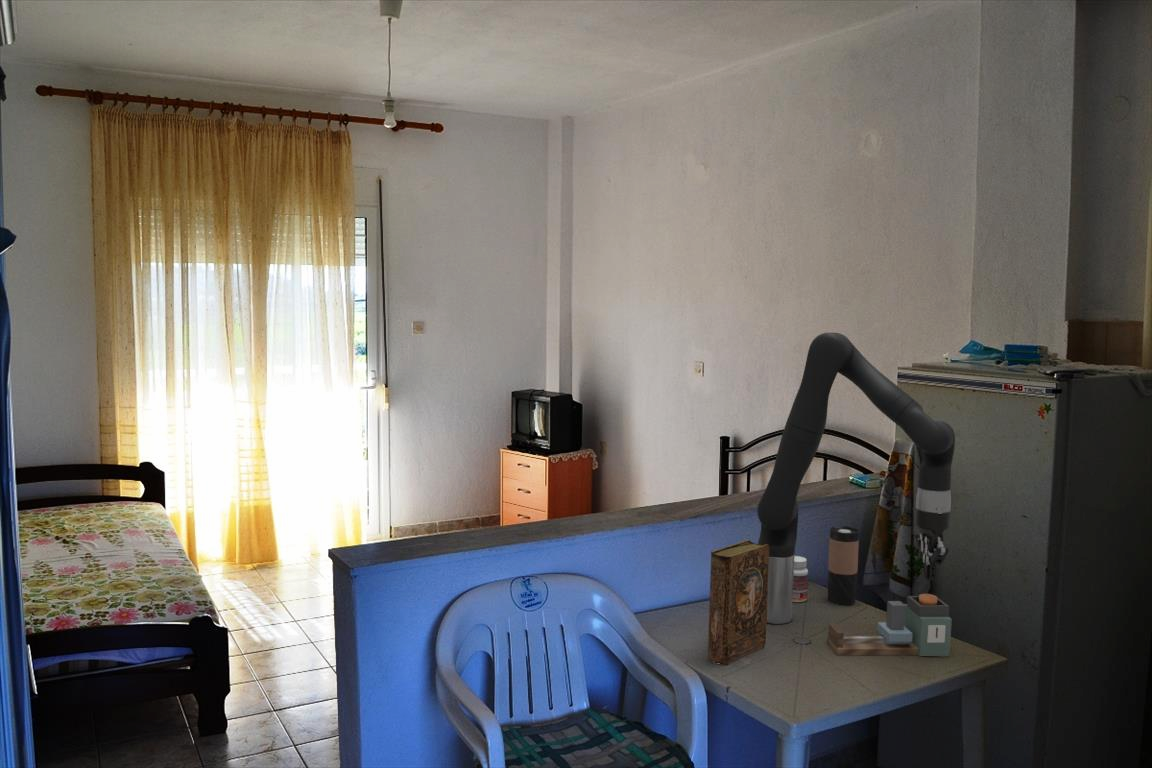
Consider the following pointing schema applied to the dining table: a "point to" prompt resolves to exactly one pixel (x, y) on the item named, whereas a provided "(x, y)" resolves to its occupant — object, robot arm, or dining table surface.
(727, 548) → the book
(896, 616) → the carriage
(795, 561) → the pill bottle
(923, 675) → the dining table surface
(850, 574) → the travel mug
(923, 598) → the button
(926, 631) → the cabinet
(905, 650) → the rail stand
